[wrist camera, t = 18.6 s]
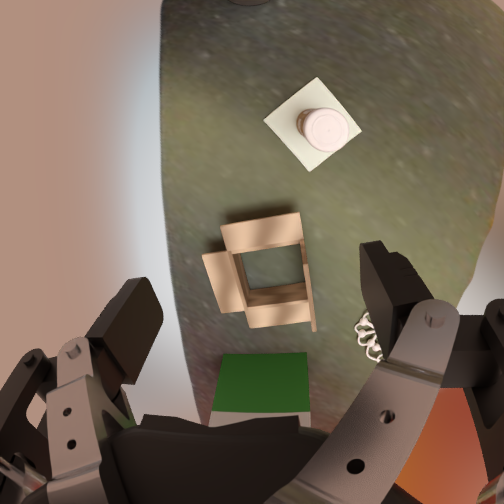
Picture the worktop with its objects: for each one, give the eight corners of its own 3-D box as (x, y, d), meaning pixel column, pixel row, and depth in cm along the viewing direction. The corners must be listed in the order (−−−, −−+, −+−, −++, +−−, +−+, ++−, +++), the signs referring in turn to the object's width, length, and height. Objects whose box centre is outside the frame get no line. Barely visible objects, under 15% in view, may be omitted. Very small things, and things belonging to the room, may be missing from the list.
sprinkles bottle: (291, 131, 39) (297, 141, 27) (302, 103, 37) (314, 99, 25) (321, 144, 39) (339, 160, 27) (333, 116, 37) (357, 119, 25)
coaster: (263, 120, 39) (263, 120, 38) (316, 77, 35) (316, 76, 35) (309, 171, 42) (309, 172, 41) (360, 130, 38) (361, 131, 38)
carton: (231, 312, 55) (221, 359, 45) (201, 218, 47) (179, 254, 36) (312, 302, 52) (318, 350, 42) (297, 201, 44) (303, 233, 33)
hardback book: (228, 374, 64) (212, 466, 43) (223, 353, 61) (202, 452, 40) (305, 373, 62) (309, 469, 41) (306, 352, 59) (311, 455, 38)
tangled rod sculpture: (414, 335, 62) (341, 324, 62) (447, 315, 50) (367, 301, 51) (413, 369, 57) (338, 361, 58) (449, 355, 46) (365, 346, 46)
